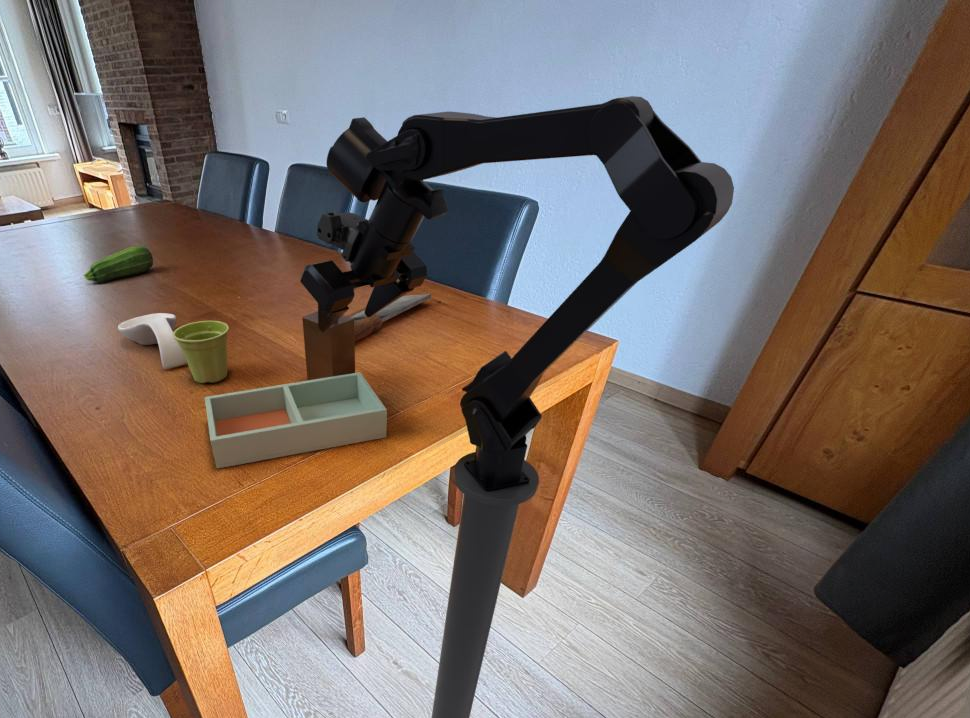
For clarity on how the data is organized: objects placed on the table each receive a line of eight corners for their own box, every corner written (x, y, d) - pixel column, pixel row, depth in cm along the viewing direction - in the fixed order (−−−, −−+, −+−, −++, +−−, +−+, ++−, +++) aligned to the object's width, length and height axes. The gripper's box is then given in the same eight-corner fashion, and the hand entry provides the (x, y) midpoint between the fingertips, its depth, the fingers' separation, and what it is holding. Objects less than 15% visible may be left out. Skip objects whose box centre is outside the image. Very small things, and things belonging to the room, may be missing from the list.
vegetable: (148, 239, 145) (78, 254, 135) (159, 265, 147) (91, 281, 137) (142, 248, 151) (74, 263, 141) (153, 272, 153) (87, 289, 143)
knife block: (328, 372, 91) (325, 300, 83) (355, 384, 87) (354, 310, 79) (307, 381, 89) (301, 308, 81) (333, 394, 84) (330, 319, 77)
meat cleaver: (392, 296, 123) (392, 279, 120) (432, 305, 117) (433, 287, 114) (296, 344, 103) (294, 324, 101) (339, 357, 97) (338, 337, 95)
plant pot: (173, 379, 92) (161, 332, 86) (214, 361, 97) (205, 316, 92) (206, 393, 87) (195, 345, 81) (247, 373, 92) (239, 327, 87)
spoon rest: (117, 337, 109) (106, 303, 105) (170, 324, 114) (162, 292, 109) (147, 376, 93) (136, 339, 89) (208, 360, 98) (200, 323, 93)
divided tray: (386, 437, 74) (387, 409, 71) (216, 468, 69) (210, 440, 66) (360, 397, 83) (360, 372, 80) (210, 423, 79) (204, 396, 76)
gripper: (401, 178, 68) (357, 272, 81) (293, 189, 58) (261, 296, 70) (454, 234, 66) (400, 322, 78) (351, 257, 55) (308, 354, 68)
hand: (344, 322), depth 74 cm, fingers open, 9 cm apart
